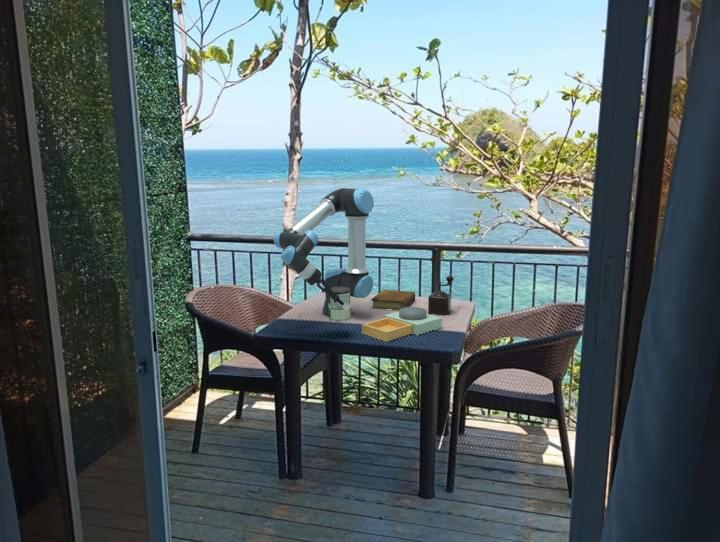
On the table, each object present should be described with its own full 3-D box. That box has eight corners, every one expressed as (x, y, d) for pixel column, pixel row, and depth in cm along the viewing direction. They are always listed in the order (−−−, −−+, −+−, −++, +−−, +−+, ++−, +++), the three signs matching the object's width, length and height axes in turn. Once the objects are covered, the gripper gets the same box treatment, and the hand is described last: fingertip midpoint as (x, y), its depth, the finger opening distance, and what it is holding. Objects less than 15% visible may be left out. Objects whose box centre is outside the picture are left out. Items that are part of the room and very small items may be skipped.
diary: (405, 312, 303) (405, 301, 302) (371, 309, 309) (371, 299, 308) (415, 301, 324) (415, 291, 323) (383, 299, 330) (383, 289, 329)
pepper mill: (449, 316, 293) (449, 281, 289) (427, 314, 296) (428, 280, 293) (453, 308, 307) (454, 275, 304) (433, 306, 311) (433, 274, 307)
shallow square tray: (361, 333, 265) (361, 324, 264) (387, 326, 275) (387, 317, 275) (386, 342, 253) (386, 332, 252) (412, 334, 263) (412, 324, 262)
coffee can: (324, 318, 263) (323, 288, 260) (342, 314, 269) (341, 285, 266) (337, 323, 255) (336, 292, 252) (355, 319, 261) (355, 289, 258)
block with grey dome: (384, 325, 278) (384, 309, 276) (408, 318, 289) (408, 303, 287) (417, 335, 262) (417, 318, 260) (441, 328, 272) (442, 311, 271)
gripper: (302, 274, 266) (336, 305, 273) (307, 285, 245) (344, 318, 251) (313, 262, 266) (347, 293, 272) (319, 272, 244) (356, 306, 251)
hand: (346, 305), depth 262 cm, fingers closed on coffee can, 10 cm apart
